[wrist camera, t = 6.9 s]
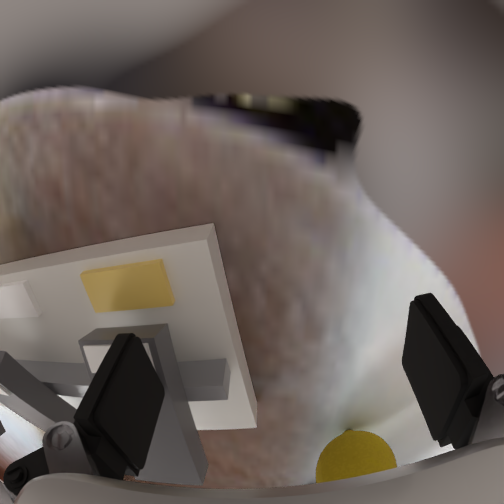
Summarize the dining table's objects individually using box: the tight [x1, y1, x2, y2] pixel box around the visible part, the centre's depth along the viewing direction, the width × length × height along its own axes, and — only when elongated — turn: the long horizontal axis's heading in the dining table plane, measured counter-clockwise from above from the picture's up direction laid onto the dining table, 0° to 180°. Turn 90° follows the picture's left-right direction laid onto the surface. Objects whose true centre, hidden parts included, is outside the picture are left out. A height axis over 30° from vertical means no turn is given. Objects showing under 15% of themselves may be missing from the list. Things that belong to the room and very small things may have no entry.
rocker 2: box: [78, 323, 208, 485], centre depth 12 cm, size 8×4×2 cm, turn 10°
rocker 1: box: [0, 351, 77, 432], centre depth 13 cm, size 8×4×2 cm, turn 9°
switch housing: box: [0, 223, 257, 430], centre depth 16 cm, size 12×24×4 cm, turn 100°
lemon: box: [316, 430, 397, 483], centre depth 16 cm, size 6×6×8 cm
